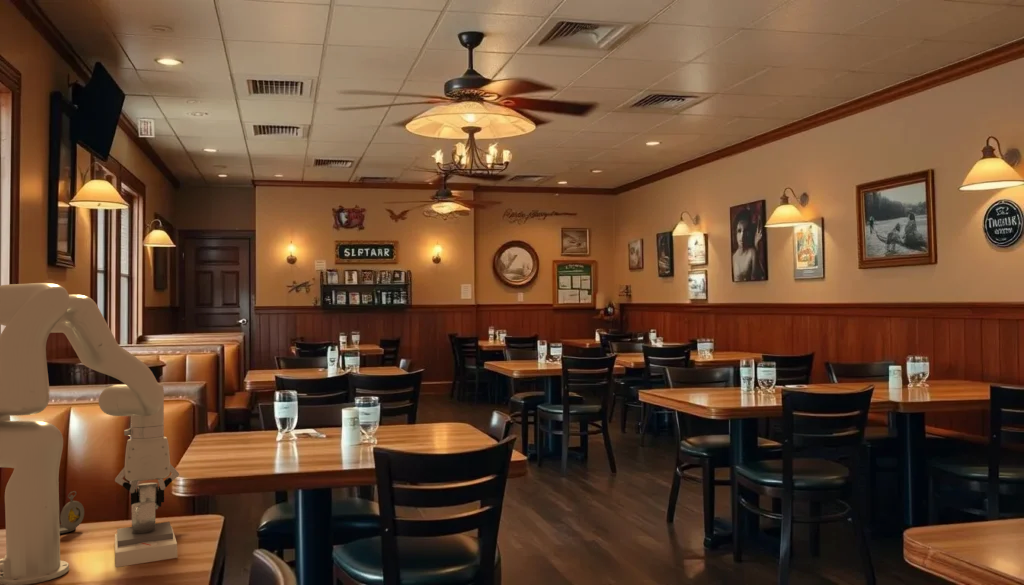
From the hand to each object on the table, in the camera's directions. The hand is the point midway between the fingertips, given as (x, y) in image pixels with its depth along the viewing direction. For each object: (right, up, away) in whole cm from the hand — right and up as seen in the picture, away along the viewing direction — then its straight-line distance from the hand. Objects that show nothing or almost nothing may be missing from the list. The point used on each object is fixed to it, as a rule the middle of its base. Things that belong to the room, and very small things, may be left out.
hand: (147, 506), depth 200 cm
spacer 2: (+8, 0, -19) cm, 20 cm away
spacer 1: (0, -1, 0) cm, 1 cm away
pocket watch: (-19, -6, -2) cm, 20 cm away
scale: (+9, -5, -21) cm, 23 cm away
